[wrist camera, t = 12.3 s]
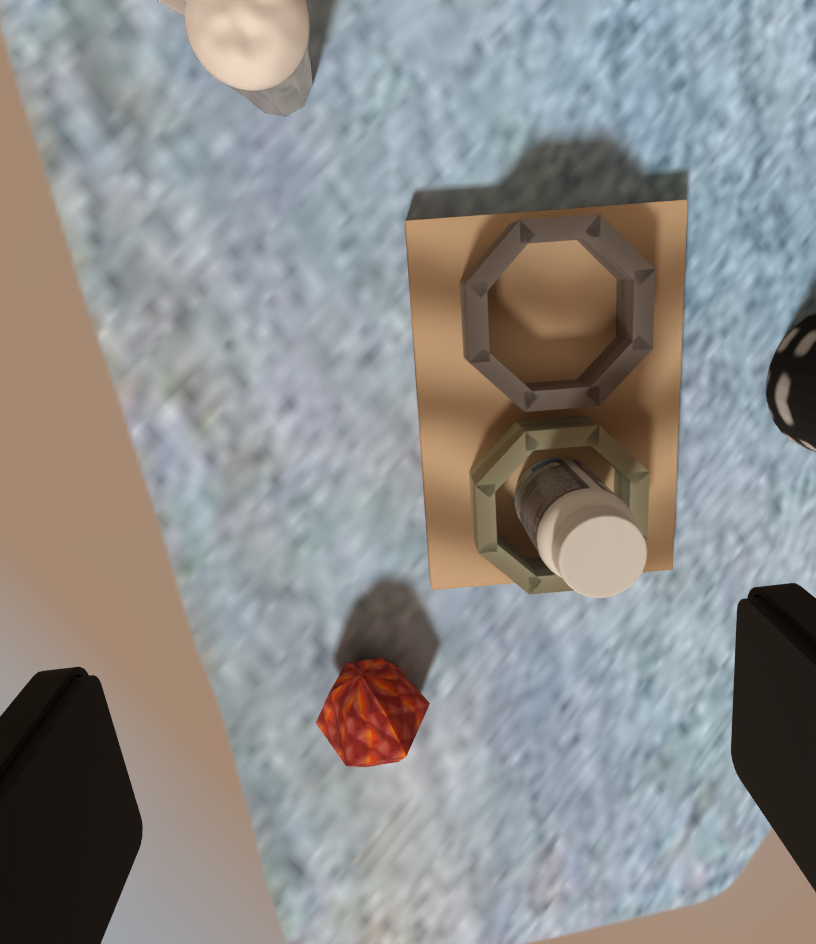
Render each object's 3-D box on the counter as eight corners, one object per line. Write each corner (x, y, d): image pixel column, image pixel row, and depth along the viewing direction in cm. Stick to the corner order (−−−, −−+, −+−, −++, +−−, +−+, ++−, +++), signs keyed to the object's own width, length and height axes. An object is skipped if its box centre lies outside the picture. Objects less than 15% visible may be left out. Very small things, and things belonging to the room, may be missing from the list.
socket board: (404, 222, 35) (408, 216, 31) (674, 202, 35) (711, 194, 31) (429, 578, 41) (434, 610, 37) (662, 559, 41) (691, 588, 37)
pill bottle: (508, 533, 38) (542, 603, 30) (518, 452, 37) (557, 504, 29) (590, 538, 39) (646, 609, 31) (604, 458, 37) (665, 510, 29)
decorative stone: (337, 701, 45) (312, 627, 40) (437, 700, 45) (425, 625, 39) (321, 797, 41) (291, 728, 35) (433, 799, 40) (419, 728, 35)
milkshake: (217, 14, 32) (148, -95, 22) (330, 35, 32) (310, -64, 23) (210, 120, 33) (142, 58, 24) (320, 138, 34) (296, 85, 24)
